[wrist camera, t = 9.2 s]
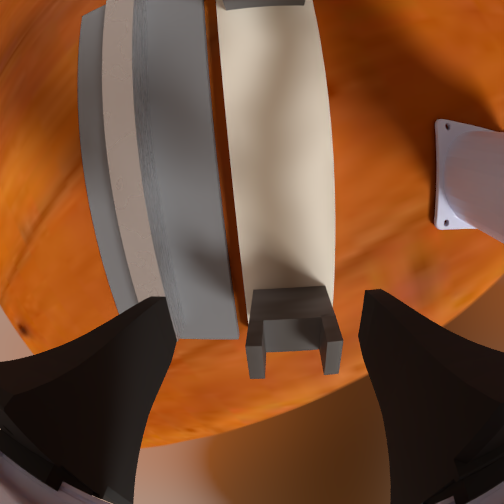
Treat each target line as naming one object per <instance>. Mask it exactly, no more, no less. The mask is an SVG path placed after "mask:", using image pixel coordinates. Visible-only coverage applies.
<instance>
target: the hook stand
mask: <svg viewBox="0 0 504 504" xmlns="http://www.w3.org/2000/svg"><path fill="white" fill-rule="evenodd" d="M216 10H217V23H218V35H219V47H220V58H221V70H222V81H223V92H224V103H225V113H226V124H227V134H228V144H229V154H230V164H231V174H232V183H233V193H234V202H235V211H236V221H237V230H238V239H239V248H240V257H241V266H242V274H243V283H244V291H245V300H246V308H247V317H248V332H247V339H246V346H245V347H246V354H247V361H248V368H249V375H250V379H265V366H266V352H285V351H302V350H316V349H319V350H320V355H321V361H322V366H323V372H324V375H329V374H338V373H339V367H340V360H341V354H342V346H343V338H342V335H341V332H340V329H339V326H338V322H337V319H336V316H335V313H334V310H333V292H334V268H335V184H334V161H333V145H332V131H331V119H330V109H329V99H328V90H327V82H326V75H325V67H324V60H323V54H322V48H321V42H320V36H319V30H318V25H317V20H316V15H315V10H314V5H313V1H312V0H216Z"/></svg>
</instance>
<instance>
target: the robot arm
mask: <svg viewBox="0 0 504 504" xmlns="http://www.w3.org/2000/svg"><path fill="white" fill-rule="evenodd" d="M446 124H447V126H448V129H446V127H445V125H446ZM435 134H436V164H437V172H436V202H435V217H434V225H435V227H436V228H437V229H440V230H445V229H475V228H477V229H479V230H481V231H483V232H485V233H486V234H488V235H490V236H492V237H493V238H495V239H497V240H499V241H500V242H502V243H504V132H496V131H492V130H489V129H485V128H481V127H477V126H473V125H469V124H465V123H460V122H455V121H450V120H445V119H437V120H436V122H435ZM445 220H446V224H445V225H444V221H445ZM358 337H359V342H360V347H361V351H362V356H363V359H364V362H365V365H366V368H367V371H368V373H369V376H370V379H371V382H372V385H373V387H374V390H375V393H376V396H377V399H378V402H379V405H380V408H381V412H382V415H383V421H384V426H385V431H386V437H387V445H388V453H389V461H390V477H391V478H390V479H391V504H504V352H500V351H497V350H494V349H491V348H488V347H485V346H482V345H480V344H477V343H475V342H472V341H470V340H467V339H465V338H463V337H461V336H459V335H457V334H455V333H453V332H450V331H449V330H447V329H445V328H443V327H441V326H440V325H438V324H436V323H435V322H433V321H431V320H429V319H428V318H426V317H425V316H423V315H421V314H420V313H418V312H417V311H415V310H414V309H412V308H410V307H409V306H407V305H406V304H404V303H403V302H401V301H400V300H398V299H397V298H395V297H394V296H392V295H390V294H389V293H387V292H385V291H383V290H381V289H376V290H365V295H364V303H363V310H362V316H361V322H360V328H359V334H358ZM176 342H177V338H176V334H175V331H174V327H173V323H172V320H171V316H170V312H169V308H168V304H167V300H166V297H163V296H151V297H149V298H146V299H144V300H143V301H141V302H139V303H137V304H136V305H134V306H132V307H131V308H129V309H127V310H126V311H124V312H123V313H121V314H119V315H118V316H116V317H115V318H113V319H111V320H110V321H108V322H106V323H104V324H103V325H101V326H99V327H97V328H96V329H94V330H92V331H91V332H89V333H87V334H85V335H83V336H81V337H79V338H77V339H75V340H73V341H70V342H68V343H66V344H64V345H61V346H59V347H56V348H53V349H51V350H48V351H45V352H42V353H39V354H36V355H33V356H29V357H25V358H21V359H16V360H11V361H5V362H0V429H1V430H0V504H110V503H107V502H105V501H102V500H100V499H103V500H106V501H108V502H111V503H113V504H133V497H134V485H135V475H136V468H137V462H138V456H139V451H140V447H141V442H142V438H143V434H144V430H145V426H146V422H147V419H148V415H149V413H150V410H151V407H152V405H153V402H154V400H155V398H156V395H157V393H158V391H159V389H160V386H161V384H162V382H163V380H164V377H165V375H166V373H167V370H168V368H169V366H170V363H171V360H172V357H173V354H174V350H175V346H176ZM92 495H93V496H95V497H93V496H92ZM96 497H97V498H96ZM98 498H100V499H98Z"/></svg>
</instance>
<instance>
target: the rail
mask: <svg viewBox="0 0 504 504" xmlns="http://www.w3.org/2000/svg"><path fill="white" fill-rule="evenodd" d="M102 97H103V116H104V130H105V141H106V150H107V159H108V166H109V174H110V180H111V187H112V193H113V199H114V204H115V210H116V215H117V220H118V225H119V229H120V234H121V238H122V243H123V247H124V251H125V255H126V259H127V263H128V267H129V271H130V275H131V278H132V282H133V285H134V289H135V292H136V296H137V299H138V302H141V301H143V300H144V299H146V298H149V297H151V296H163V297H166V300H167V304H168V308H169V312H170V316H171V320H172V323H173V327H174V331H175V334H176V338H177V341H178V340H179V338H180V336H181V334H182V331H183V329H184V327H185V325H186V322H185V318H184V314H183V310H182V306H181V302H180V298H179V294H178V290H177V285H176V281H175V276H174V272H173V267H172V262H171V257H170V252H169V247H168V242H167V237H166V232H165V226H164V220H163V215H162V209H161V202H160V196H159V189H158V182H157V175H156V168H155V160H154V151H153V142H152V133H151V122H150V110H149V96H148V78H147V0H107V1H106V8H105V17H104V29H103V47H102Z"/></svg>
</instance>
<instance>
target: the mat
mask: <svg viewBox="0 0 504 504" xmlns="http://www.w3.org/2000/svg"><path fill="white" fill-rule="evenodd" d="M105 8H106V5H104V6H102V7H100V8H98V9H96V10H94V11H92V12H90V13H88V14H86V15H84V16H82V22H81V31H80V41H79V56H78V116H79V132H80V143H81V153H82V161H83V169H84V176H85V183H86V189H87V195H88V200H89V206H90V211H91V216H92V220H93V225H94V229H95V234H96V238H97V242H98V246H99V250H100V254H101V258H102V261H103V265H104V268H105V272H106V275H107V278H108V282H109V285H110V288H111V291H112V294H113V297H114V300H115V303H116V306H117V309H118V312H119V314H121V313H123V312H124V311H126V310H127V309H129V308H131V307H132V306H134V305H136V304H137V303H139V302H138V299H137V296H136V292H135V289H134V285H133V282H132V278H131V275H130V271H129V267H128V263H127V259H126V255H125V251H124V247H123V243H122V238H121V234H120V229H119V225H118V220H117V215H116V210H115V204H114V199H113V193H112V187H111V180H110V174H109V166H108V159H107V150H106V141H105V130H104V116H103V97H102V47H103V29H104V17H105ZM147 78H148V96H149V110H150V122H151V133H152V142H153V151H154V160H155V168H156V175H157V182H158V189H159V196H160V202H161V209H162V215H163V220H164V226H165V232H166V237H167V242H168V247H169V252H170V257H171V262H172V267H173V272H174V276H175V281H176V285H177V290H178V294H179V298H180V302H181V306H182V310H183V314H184V318H185V322H186V325H185V327H184V329H183V331H182V334H181V336H180V338H181V339H239V328H238V322H237V315H236V308H235V301H234V293H233V286H232V279H231V271H230V264H229V256H228V248H227V240H226V232H225V224H224V216H223V208H222V199H221V190H220V182H219V173H218V163H217V154H216V144H215V134H214V124H213V114H212V103H211V92H210V80H209V68H208V55H207V42H206V27H205V11H204V0H147Z"/></svg>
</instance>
